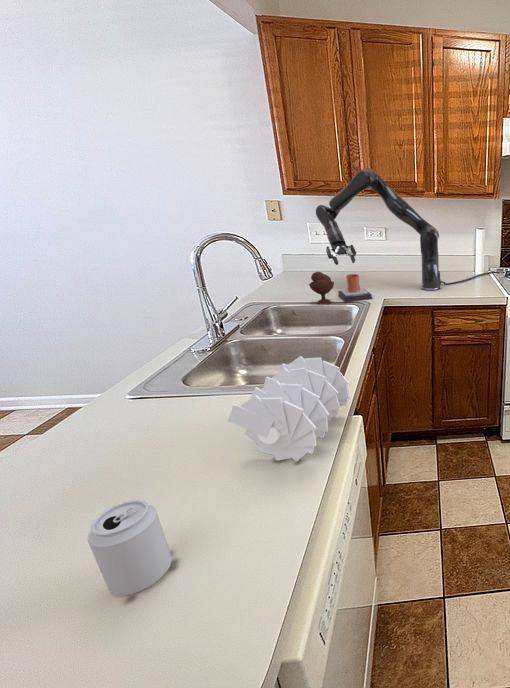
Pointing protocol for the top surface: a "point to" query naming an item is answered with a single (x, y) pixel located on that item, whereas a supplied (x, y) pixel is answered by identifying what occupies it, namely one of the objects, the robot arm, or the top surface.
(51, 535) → the top surface
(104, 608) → the top surface
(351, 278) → the cup
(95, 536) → the can
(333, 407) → the spiral staircase
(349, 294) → the scale
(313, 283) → the ice cream bowl
